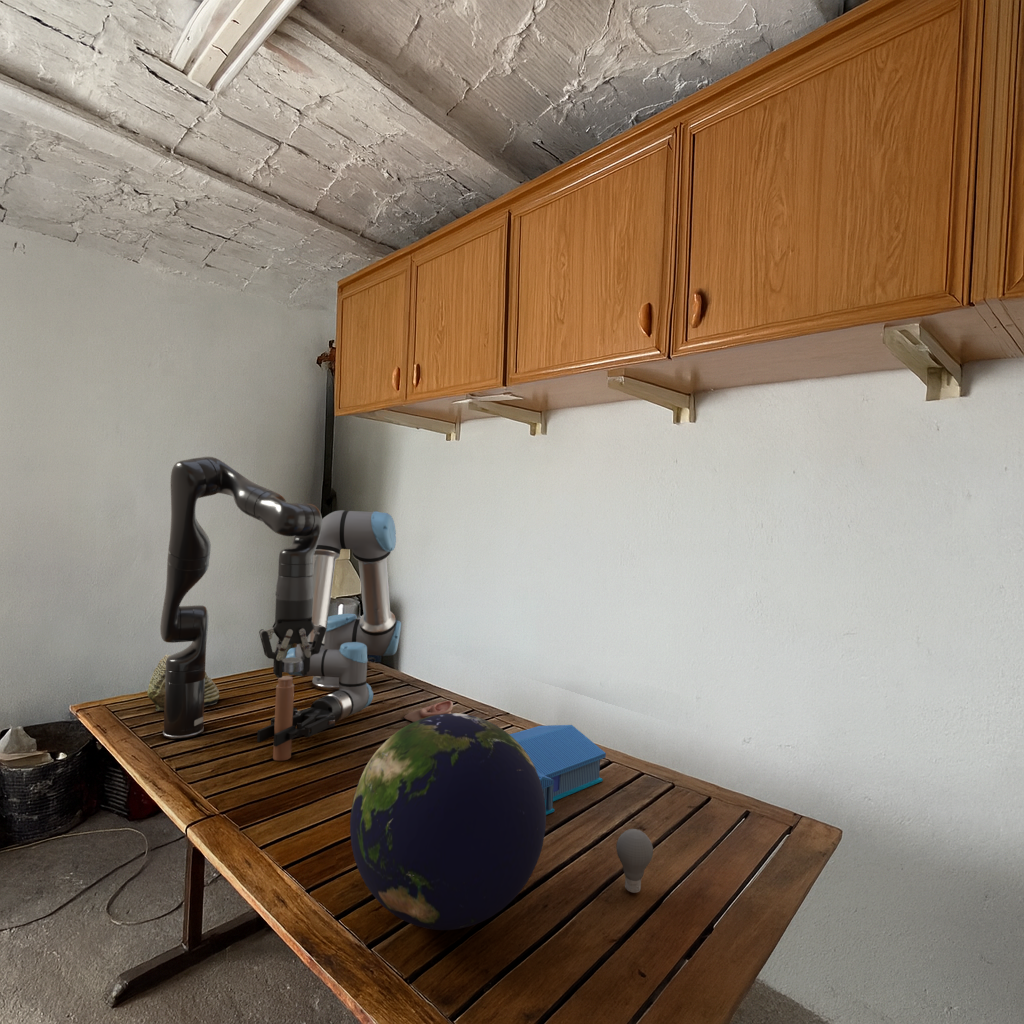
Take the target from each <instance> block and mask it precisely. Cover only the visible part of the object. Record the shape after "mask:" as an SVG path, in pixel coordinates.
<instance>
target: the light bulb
mask: <svg viewBox="0 0 1024 1024" xmlns="http://www.w3.org/2000/svg"><path fill="white" fill-rule="evenodd" d="M615 849H616V854H617V857H618V859H619V861H620V863H621V865H622V867H623V873H624V874H623V875H624V876H625V878H624V888H625V890H627V891H628V892H630V893H634V894H635V893H639V892H640V891H641V889H642V887H641V886H642V879H643V877H644V875H645V871H646V868H647V867H648V866H649V864H650V863H651V861H652V859H653V855H654V847H653V843H652V841H651V838H649V836H648V835H647V834H646V833H645V832H643V831H642V830H641V829H636V828H629V829H627V830H625V831H623V832H622V833H621V834H620V835H619V837H618V839H617V841H616V847H615Z"/></svg>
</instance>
